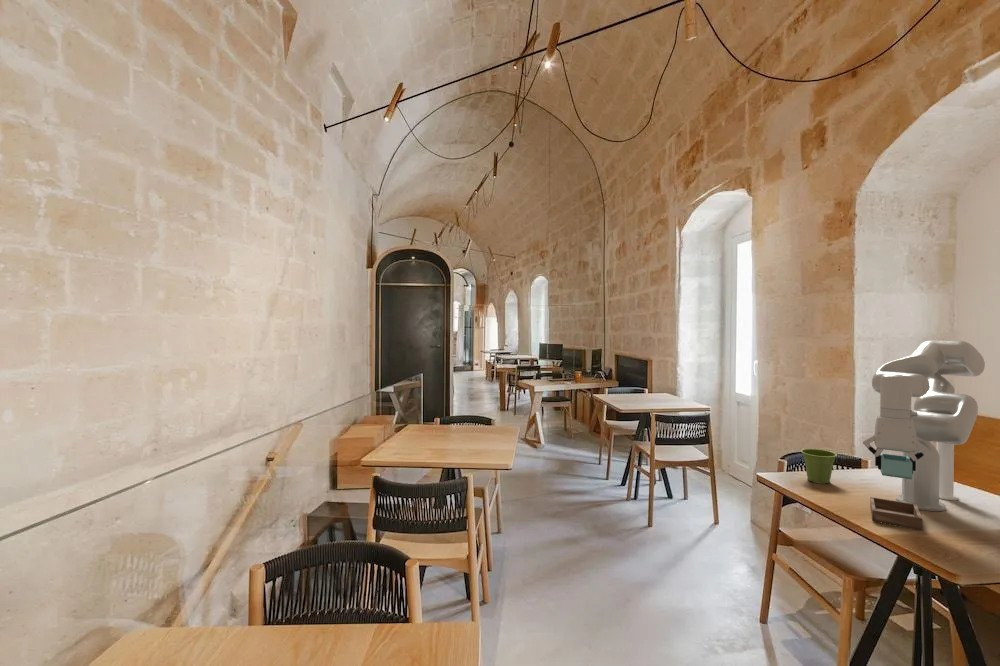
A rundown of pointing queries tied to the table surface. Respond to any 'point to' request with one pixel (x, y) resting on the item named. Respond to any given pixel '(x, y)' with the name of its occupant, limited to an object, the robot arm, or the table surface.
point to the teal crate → (896, 466)
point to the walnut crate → (895, 513)
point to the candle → (946, 471)
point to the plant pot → (818, 464)
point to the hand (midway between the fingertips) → (894, 470)
